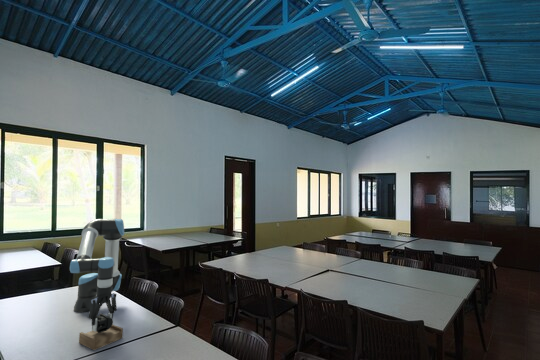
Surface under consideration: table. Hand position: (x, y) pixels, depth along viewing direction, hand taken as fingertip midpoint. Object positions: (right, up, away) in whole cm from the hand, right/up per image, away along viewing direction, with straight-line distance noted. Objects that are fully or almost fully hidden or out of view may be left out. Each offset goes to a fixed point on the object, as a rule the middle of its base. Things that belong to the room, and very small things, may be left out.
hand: (101, 327), depth 166 cm
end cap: (0, -1, 0) cm, 1 cm away
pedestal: (0, -7, 0) cm, 7 cm away
